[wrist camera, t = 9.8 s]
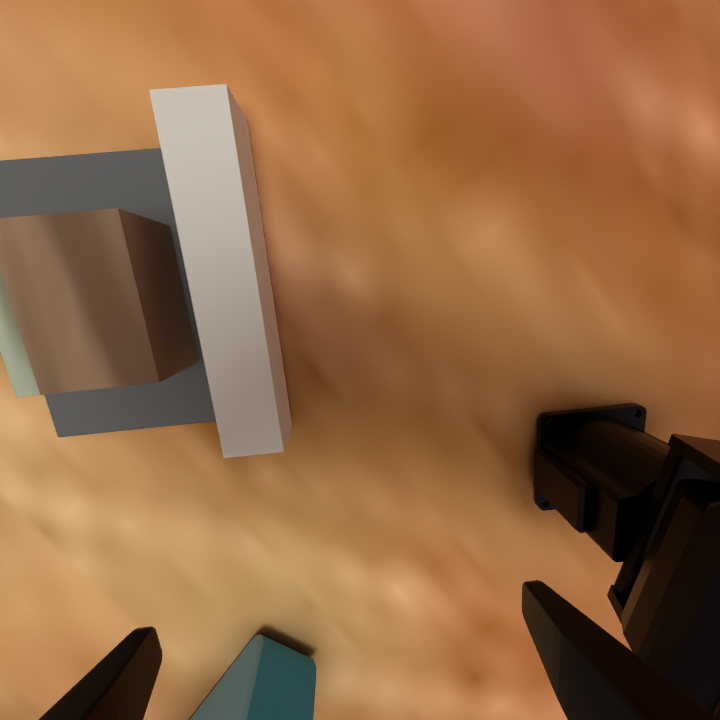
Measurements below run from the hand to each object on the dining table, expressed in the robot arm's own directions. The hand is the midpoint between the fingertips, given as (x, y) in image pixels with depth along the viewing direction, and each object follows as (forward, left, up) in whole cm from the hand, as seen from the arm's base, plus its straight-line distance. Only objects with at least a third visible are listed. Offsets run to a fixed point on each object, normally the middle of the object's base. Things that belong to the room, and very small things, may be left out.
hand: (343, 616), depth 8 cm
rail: (+5, -8, -12) cm, 15 cm away
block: (+8, -8, -10) cm, 15 cm away
